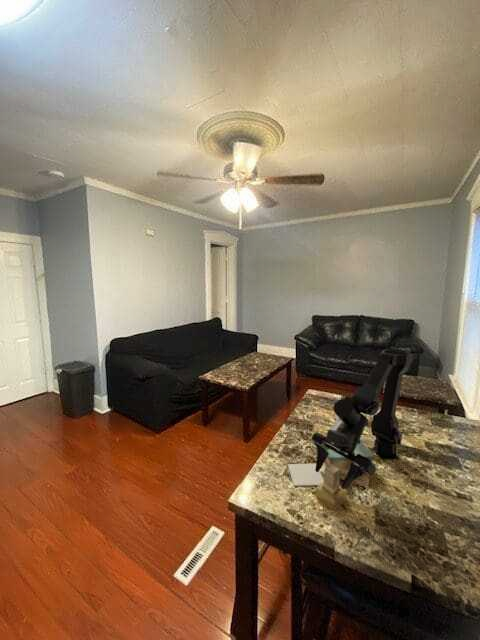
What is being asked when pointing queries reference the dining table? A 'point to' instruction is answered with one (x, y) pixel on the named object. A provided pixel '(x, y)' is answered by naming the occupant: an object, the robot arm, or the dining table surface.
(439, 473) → the dining table surface
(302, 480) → the grey mat
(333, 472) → the brown square block
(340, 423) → the adjustable wrench
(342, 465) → the drawer
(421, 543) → the dining table surface
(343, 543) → the dining table surface
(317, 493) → the frame
